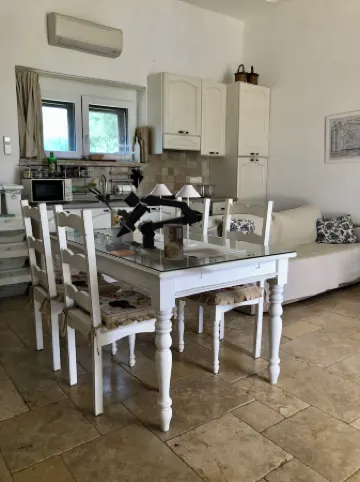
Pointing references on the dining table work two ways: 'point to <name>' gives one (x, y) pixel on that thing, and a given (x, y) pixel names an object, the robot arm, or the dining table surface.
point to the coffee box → (173, 241)
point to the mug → (127, 236)
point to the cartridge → (114, 232)
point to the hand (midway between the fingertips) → (116, 236)
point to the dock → (119, 249)
